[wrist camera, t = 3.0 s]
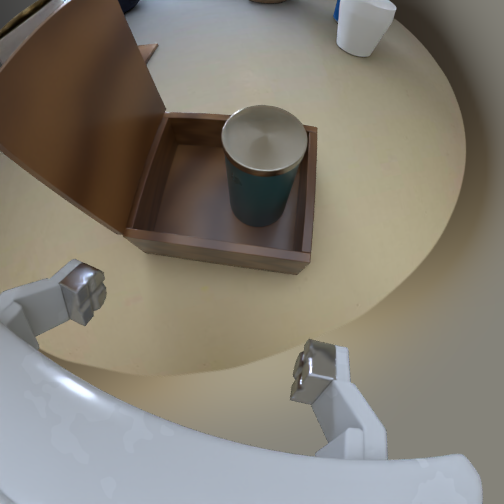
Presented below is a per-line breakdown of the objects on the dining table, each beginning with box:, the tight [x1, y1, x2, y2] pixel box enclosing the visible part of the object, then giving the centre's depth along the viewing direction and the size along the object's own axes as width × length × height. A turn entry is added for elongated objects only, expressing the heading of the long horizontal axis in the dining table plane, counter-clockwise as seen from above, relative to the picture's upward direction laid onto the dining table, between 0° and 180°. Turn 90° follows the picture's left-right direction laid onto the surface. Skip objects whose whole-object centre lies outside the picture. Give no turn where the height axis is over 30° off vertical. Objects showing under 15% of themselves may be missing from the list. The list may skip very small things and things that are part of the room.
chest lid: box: [0, 0, 166, 235], centre depth 15 cm, size 16×14×1 cm
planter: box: [0, 0, 64, 64], centre depth 30 cm, size 18×18×16 cm
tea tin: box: [221, 105, 308, 227], centre depth 23 cm, size 6×6×11 cm
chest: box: [123, 112, 317, 275], centre depth 26 cm, size 16×14×6 cm
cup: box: [336, 0, 396, 57], centre depth 31 cm, size 9×9×12 cm
